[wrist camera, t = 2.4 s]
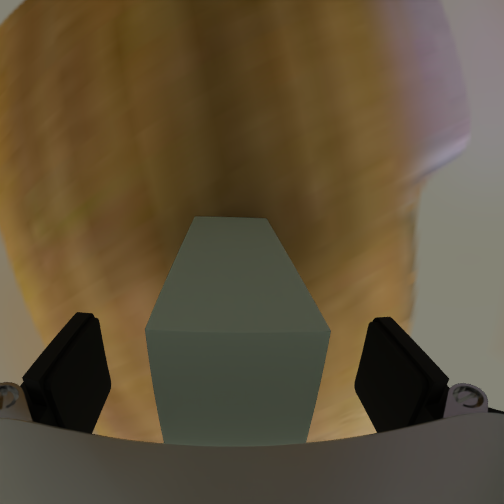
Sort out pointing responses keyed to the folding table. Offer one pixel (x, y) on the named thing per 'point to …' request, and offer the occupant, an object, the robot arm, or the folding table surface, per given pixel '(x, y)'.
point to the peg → (235, 340)
